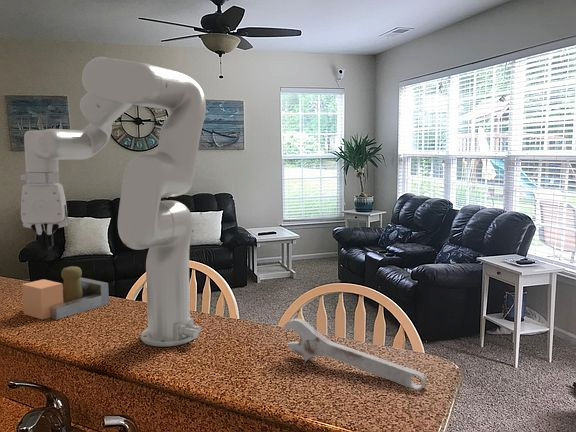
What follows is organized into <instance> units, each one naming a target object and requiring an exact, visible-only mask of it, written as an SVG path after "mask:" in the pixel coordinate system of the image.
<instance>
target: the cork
mask: <svg viewBox="0 0 576 432" xmlns="http://www.w3.org/2000/svg"><path fill="white" fill-rule="evenodd" d="M82 274H83V272H82V269H81V267H79V266H74V265H72V266H67V267H63V269H62V270H61V274H60V275H61V278H62V280H63V282H62V285H63V303H66V302H70V301H73V300H77V299H80V298H84V297H83V291H82V286H81V281H80V277H82V276H83V275H82Z"/></svg>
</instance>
